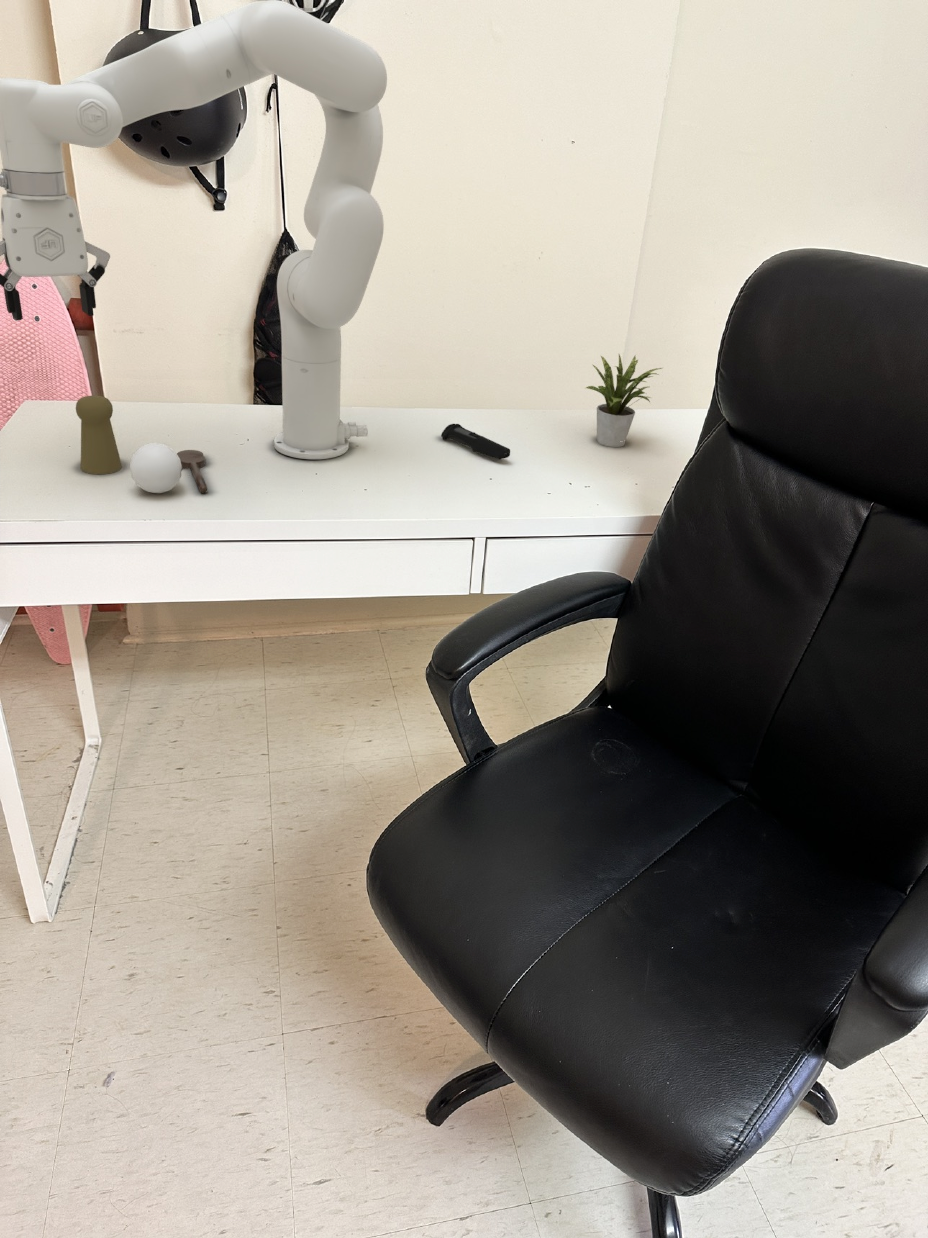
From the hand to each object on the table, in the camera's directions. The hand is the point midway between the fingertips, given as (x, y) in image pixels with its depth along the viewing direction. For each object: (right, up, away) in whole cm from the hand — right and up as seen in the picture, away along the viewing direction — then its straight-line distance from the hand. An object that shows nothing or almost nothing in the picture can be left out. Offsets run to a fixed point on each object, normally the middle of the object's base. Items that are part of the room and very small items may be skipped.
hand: (53, 315), depth 135 cm
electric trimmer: (+61, -14, +32) cm, 70 cm away
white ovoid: (+13, -24, +7) cm, 28 cm away
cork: (+2, -20, +12) cm, 23 cm away
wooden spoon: (+17, -21, +13) cm, 29 cm away
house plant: (+86, -11, +41) cm, 96 cm away
